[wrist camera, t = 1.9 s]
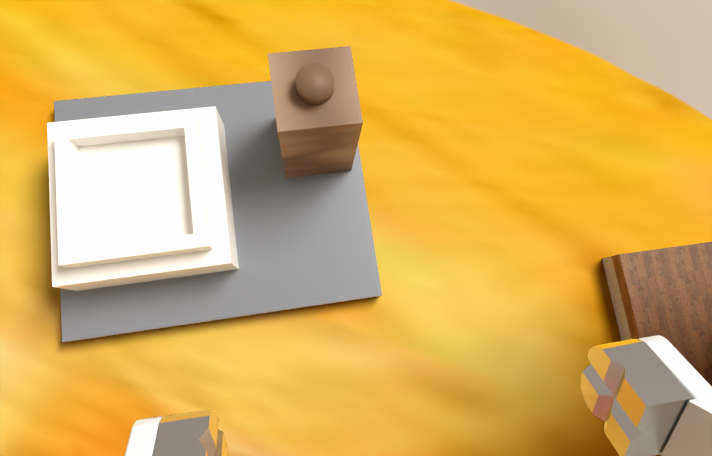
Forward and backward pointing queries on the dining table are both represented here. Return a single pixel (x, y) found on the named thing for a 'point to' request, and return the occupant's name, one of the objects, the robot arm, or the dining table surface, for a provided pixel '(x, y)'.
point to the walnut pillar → (316, 110)
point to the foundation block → (139, 198)
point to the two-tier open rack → (666, 299)
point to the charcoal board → (242, 227)
